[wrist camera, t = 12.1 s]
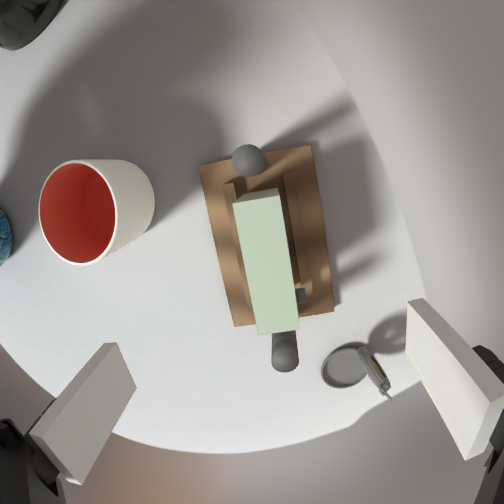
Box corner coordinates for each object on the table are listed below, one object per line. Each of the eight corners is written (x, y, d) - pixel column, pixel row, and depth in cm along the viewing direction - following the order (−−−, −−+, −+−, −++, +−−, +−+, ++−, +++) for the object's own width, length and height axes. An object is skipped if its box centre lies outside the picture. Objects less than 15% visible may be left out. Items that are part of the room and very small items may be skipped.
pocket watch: (313, 379, 39) (320, 432, 29) (336, 329, 37) (353, 377, 27) (365, 388, 39) (382, 437, 29) (390, 340, 37) (417, 386, 27)
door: (244, 193, 32) (232, 203, 23) (286, 186, 32) (292, 193, 22) (262, 290, 35) (258, 335, 25) (301, 284, 34) (311, 327, 25)
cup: (147, 148, 33) (103, 143, 23) (168, 231, 35) (131, 254, 25) (80, 174, 34) (29, 180, 24) (100, 249, 36) (54, 274, 27)
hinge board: (200, 164, 33) (167, 162, 22) (309, 143, 31) (326, 131, 21) (235, 324, 37) (222, 379, 27) (332, 309, 36) (352, 360, 25)
